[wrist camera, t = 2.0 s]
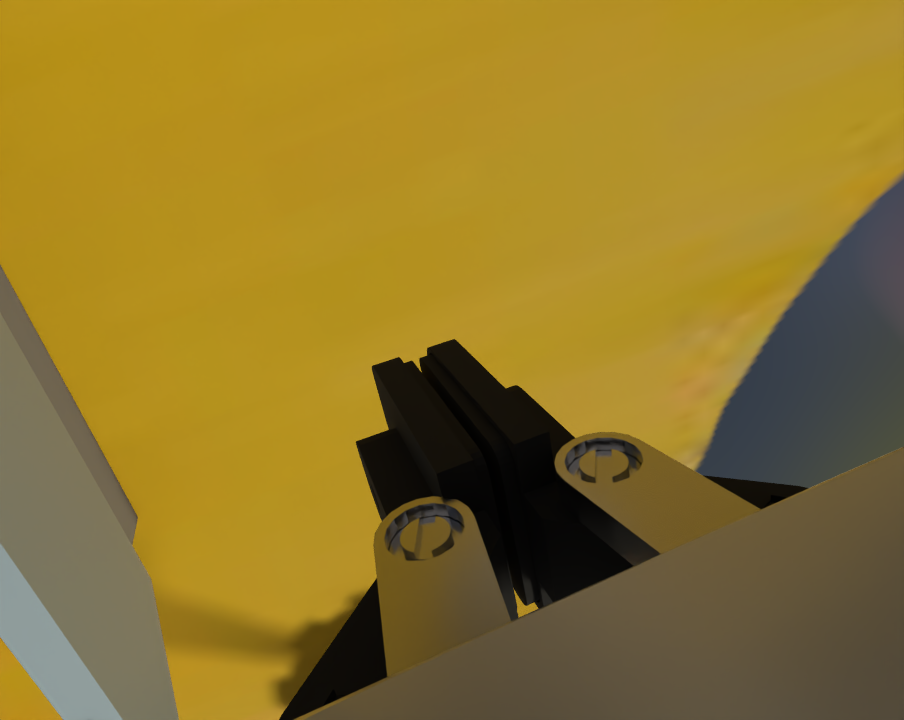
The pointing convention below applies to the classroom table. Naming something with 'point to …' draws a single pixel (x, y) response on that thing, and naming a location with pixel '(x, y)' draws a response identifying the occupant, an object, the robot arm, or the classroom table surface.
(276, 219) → the classroom table surface
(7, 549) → the grey flat panel
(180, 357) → the classroom table surface
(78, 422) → the grey open box
